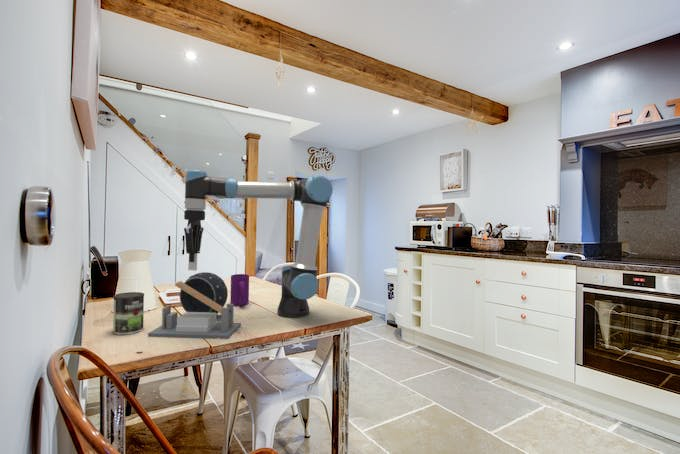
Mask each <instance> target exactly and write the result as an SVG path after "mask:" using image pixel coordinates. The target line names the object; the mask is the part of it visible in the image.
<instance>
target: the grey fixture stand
mask: <svg viewBox="0 0 680 454" xmlns="http://www.w3.org/2000/svg"><path fill="white" fill-rule="evenodd" d="M171 307H172V305H171V304H169V305H166V306H165V307H163V308H162V309H161V311H162V312H161V316H162V318H161V324H162V325H160V326H157V328H155V329H152V330H151V331H150V332H148V333H147V337H153V338H154V337H155V338H188V339H217V338H220V340H222V339H224V340H228V339H230V338H231V336H232V335H234V333H235V332H236V331H238V329H240V327H241V326H242V325H241V322H234V316H235V315H234V310H235V309H234V307H235V306H234V304H230V303H227V304H226V307H224V308H221V313H220V314H221V315H220V317H221V318H220V319H221V320H220V321H219V322H218V319H217V313H208V312H186V311H185V312H184V313H183V314H182V315H179V316H178V313H179V312H178V311H172V309H171ZM229 310H231V311H232V313H231V314H230V315H229ZM171 311H172V312H171Z"/></svg>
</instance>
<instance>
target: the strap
mask: <svg viewBox="0 0 680 454" xmlns="http://www.w3.org/2000/svg"><path fill="white" fill-rule="evenodd" d="M174 286H175V287H177V288H178V289H180V290H181V289H182V290H183V291H185V292H187V293H188V294H190V295H192V296H193V297H195V298H196V299H198V300H200V301H201V302H203V303H205V304H206V305H208V306H210V307H211V308H213V309H214V310H216V311H218V313H219V314H221V308H225V306H224V307H222V306H221V305H219V304H217V303H216V302H214V301H212V300H211V299H209V298H208V297H206V296H204V295H203V294H201V293H199V292H198V291H196V290H194V289H193V288H191V287H190V286H188V285H186V284H185V282H183V281H181V280H180V281H177V282H176V283H175V284H174ZM231 313H232V311H231V310H229V315H230V314H231Z"/></svg>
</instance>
